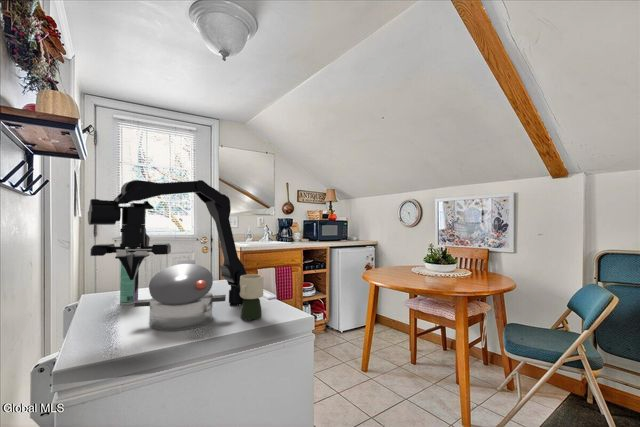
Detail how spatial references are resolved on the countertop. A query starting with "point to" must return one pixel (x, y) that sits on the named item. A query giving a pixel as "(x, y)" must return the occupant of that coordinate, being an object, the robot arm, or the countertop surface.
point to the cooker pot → (180, 313)
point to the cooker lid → (181, 283)
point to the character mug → (251, 295)
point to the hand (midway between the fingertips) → (132, 279)
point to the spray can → (128, 287)
